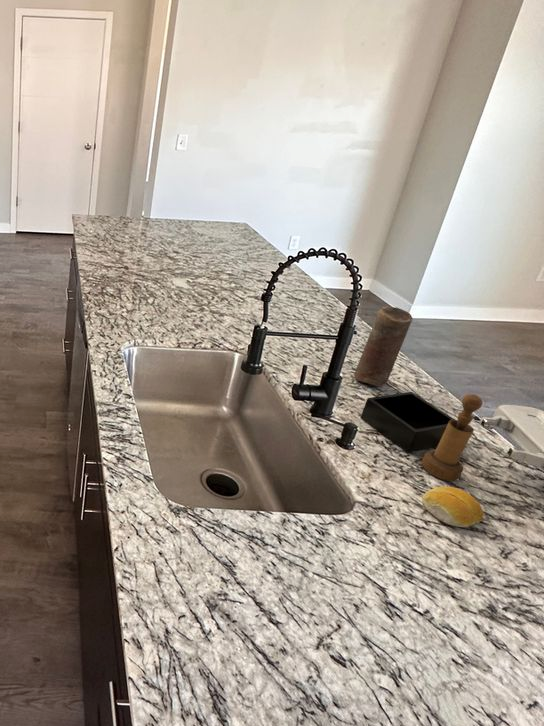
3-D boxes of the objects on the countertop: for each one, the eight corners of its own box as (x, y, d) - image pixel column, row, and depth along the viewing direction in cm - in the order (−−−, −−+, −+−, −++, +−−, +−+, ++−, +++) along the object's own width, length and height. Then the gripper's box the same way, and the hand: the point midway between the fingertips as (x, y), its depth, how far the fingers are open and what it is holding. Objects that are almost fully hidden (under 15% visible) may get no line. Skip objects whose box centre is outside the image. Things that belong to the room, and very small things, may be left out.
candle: (388, 381, 140) (415, 312, 131) (384, 393, 134) (411, 321, 126) (356, 370, 144) (380, 303, 135) (350, 381, 139) (374, 311, 130)
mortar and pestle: (466, 483, 106) (504, 408, 98) (431, 479, 107) (466, 404, 99) (448, 461, 112) (483, 388, 104) (415, 456, 112) (446, 384, 105)
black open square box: (403, 411, 128) (411, 391, 125) (452, 445, 117) (462, 424, 114) (360, 418, 124) (367, 397, 122) (406, 453, 114) (416, 432, 111)
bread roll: (488, 520, 97) (497, 503, 96) (457, 534, 94) (466, 518, 92) (441, 489, 104) (449, 473, 102) (411, 501, 101) (419, 485, 99)
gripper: (611, 500, 93) (522, 487, 96) (536, 429, 112) (462, 419, 114) (630, 472, 91) (538, 459, 93) (549, 404, 109) (473, 394, 111)
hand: (495, 437), depth 104 cm, fingers open, 8 cm apart
